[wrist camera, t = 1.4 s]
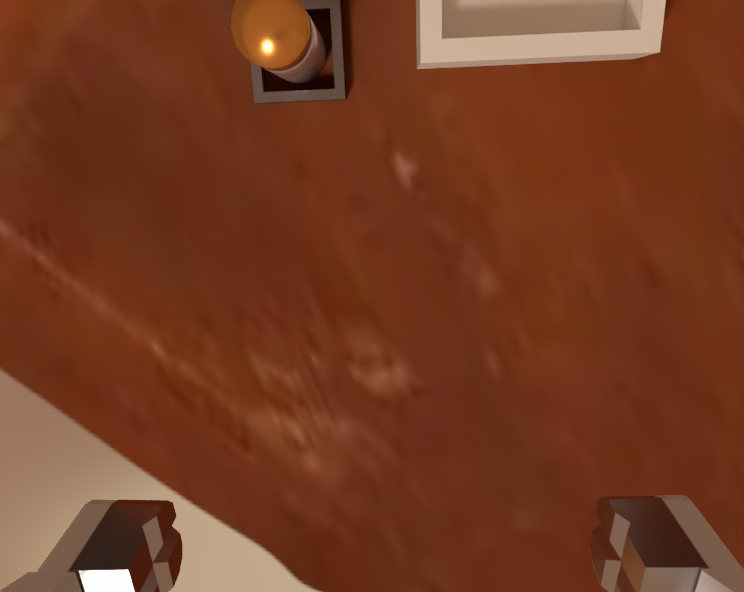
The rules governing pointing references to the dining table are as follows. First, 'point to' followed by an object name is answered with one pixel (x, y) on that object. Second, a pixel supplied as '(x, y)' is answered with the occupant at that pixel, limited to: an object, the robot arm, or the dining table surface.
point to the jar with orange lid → (279, 38)
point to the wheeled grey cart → (314, 3)
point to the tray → (535, 31)
